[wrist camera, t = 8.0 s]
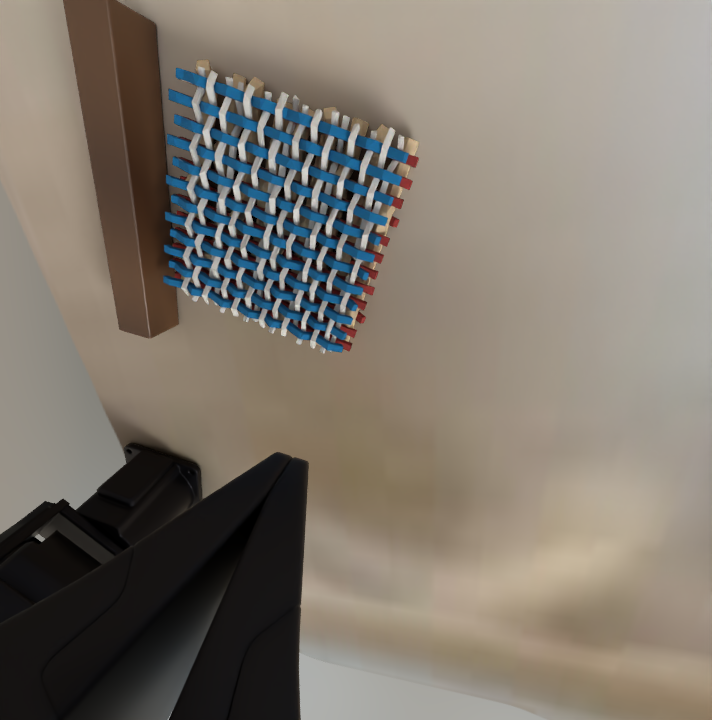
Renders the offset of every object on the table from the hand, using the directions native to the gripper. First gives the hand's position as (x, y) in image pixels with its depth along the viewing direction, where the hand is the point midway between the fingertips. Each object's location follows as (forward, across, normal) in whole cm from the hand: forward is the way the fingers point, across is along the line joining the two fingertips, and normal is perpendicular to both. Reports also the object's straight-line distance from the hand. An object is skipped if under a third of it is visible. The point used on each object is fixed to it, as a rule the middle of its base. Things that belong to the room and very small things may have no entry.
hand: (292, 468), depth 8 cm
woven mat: (+11, +5, -4) cm, 13 cm away
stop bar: (+11, +13, -4) cm, 17 cm away
